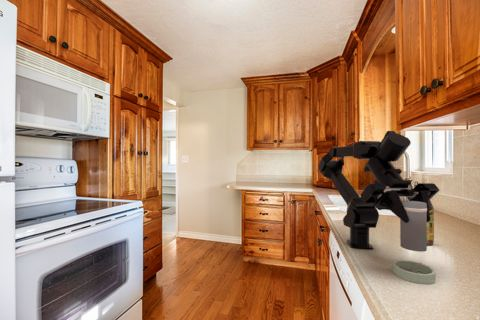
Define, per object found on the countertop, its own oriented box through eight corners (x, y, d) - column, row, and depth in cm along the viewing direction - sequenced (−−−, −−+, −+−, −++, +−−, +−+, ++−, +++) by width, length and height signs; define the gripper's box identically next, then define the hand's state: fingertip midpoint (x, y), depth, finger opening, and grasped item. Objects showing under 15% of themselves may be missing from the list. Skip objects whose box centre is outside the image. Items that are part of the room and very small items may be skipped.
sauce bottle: (435, 247, 78) (434, 186, 78) (411, 243, 82) (411, 184, 82) (433, 241, 83) (433, 184, 84) (411, 238, 87) (411, 183, 87)
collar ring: (388, 266, 63) (388, 259, 63) (423, 269, 61) (423, 261, 61) (401, 281, 55) (401, 272, 55) (443, 285, 53) (443, 276, 53)
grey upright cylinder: (396, 243, 62) (396, 200, 62) (419, 244, 60) (419, 200, 61) (406, 250, 56) (405, 203, 56) (431, 252, 55) (431, 204, 55)
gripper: (399, 190, 75) (431, 237, 64) (342, 191, 73) (366, 239, 61) (421, 165, 67) (462, 213, 56) (358, 165, 65) (389, 215, 54)
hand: (418, 221), depth 57 cm, fingers closed on grey upright cylinder, 5 cm apart
